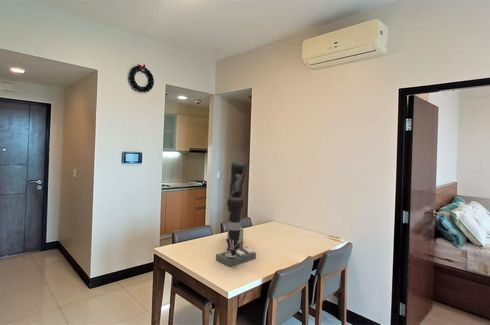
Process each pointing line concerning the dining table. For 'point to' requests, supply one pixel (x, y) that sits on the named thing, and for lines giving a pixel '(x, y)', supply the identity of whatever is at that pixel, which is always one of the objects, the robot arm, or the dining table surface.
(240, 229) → the candy bar box
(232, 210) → the robot arm
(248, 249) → the rocker
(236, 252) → the rocker
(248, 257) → the grey control panel
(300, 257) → the dining table surface
